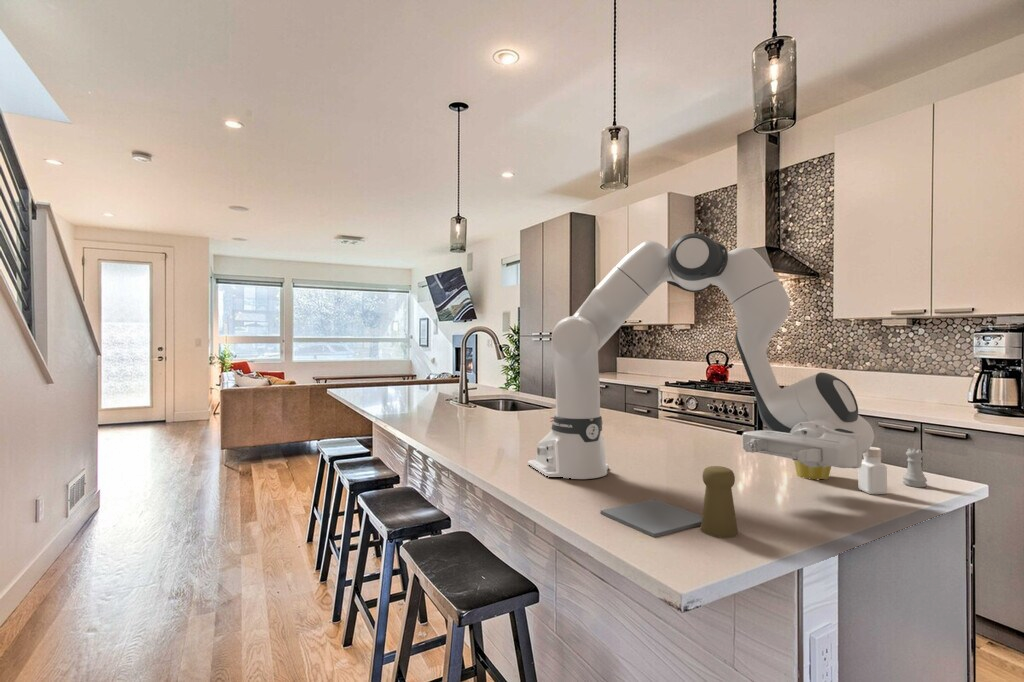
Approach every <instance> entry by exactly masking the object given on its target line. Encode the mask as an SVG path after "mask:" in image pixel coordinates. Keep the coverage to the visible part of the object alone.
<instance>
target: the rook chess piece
mask: <svg viewBox="0 0 1024 682" xmlns="http://www.w3.org/2000/svg"><path fill="white" fill-rule="evenodd" d="M922 451H923V450H921V449H919V448H918V449H916V448H907V451H906V452H905V454H906V456H907V459H906V461H907V469H906V472H905V474H904V475H903V477H902V478H903V480H902V483H903V484H904V485H905V486H907V487H910V488H911V487H912V488H917V489H918V488H921V489H922V488H926V487H928V483H927V482H928V480H927V477H926V476H925V474H924V472H923V467H922V463H923V462H924V461H923V460H922V458H923V457H924V455H925V453H923V452H922Z"/></svg>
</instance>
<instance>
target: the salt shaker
mask: <svg viewBox="0 0 1024 682" xmlns="http://www.w3.org/2000/svg"><path fill="white" fill-rule="evenodd" d="M862 457H863V460H862V464H861V467H860V468H857V476H858V477H857V479H858V480H857V481H858V486H857V487H858V490H859V491H861V490H862V492H864V493H866V494H869V495H887V494H888V467H887V465H885V464H884V463H882V462H881V461H882V448H880V447H877V446H876V447H875V446H871V447H870V448H869V450H868V451H866V452H865V453H864V454H862Z"/></svg>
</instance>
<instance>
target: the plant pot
mask: <svg viewBox="0 0 1024 682" xmlns="http://www.w3.org/2000/svg"><path fill="white" fill-rule="evenodd" d="M793 464H794V468H795V472H796V476H798V477H799V476H800V477H799V478H802V477H804V478H803V479H806V478H810V479H809V480H812V479H825V480H828V479H829V477H830V474H831V469H832V466H827V467H824V466H820V467H809V466H806V465H804V464H802V463H801V462H799V461H794V460H793ZM827 478H828V479H827Z"/></svg>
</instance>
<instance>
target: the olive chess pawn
mask: <svg viewBox="0 0 1024 682" xmlns="http://www.w3.org/2000/svg"><path fill="white" fill-rule="evenodd" d="M735 479H736V476H735V473H734V471H733V470H732V469H730V468H728V467H725V466H722V465H721V466H719V465H711V466H707V467H705V468H704V470H703V472H702V481H703V483H704V485H705V493H704V500H703V507H702V515H701V516H702V522H701V525H700V531H701V532H702V533H704V535H708V536H711V537H713V538H714V537H715V538H722V539H723V538H724V539H729V538H734V537H737V536H738V535H739V532H738V523H737V518H736V517H737V516H736V510H735V505H734V498H733V497H734V496H733V491H732V490H733V489H732V488H733V487H734V486H735V483H736V482H735V481H736V480H735Z"/></svg>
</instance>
